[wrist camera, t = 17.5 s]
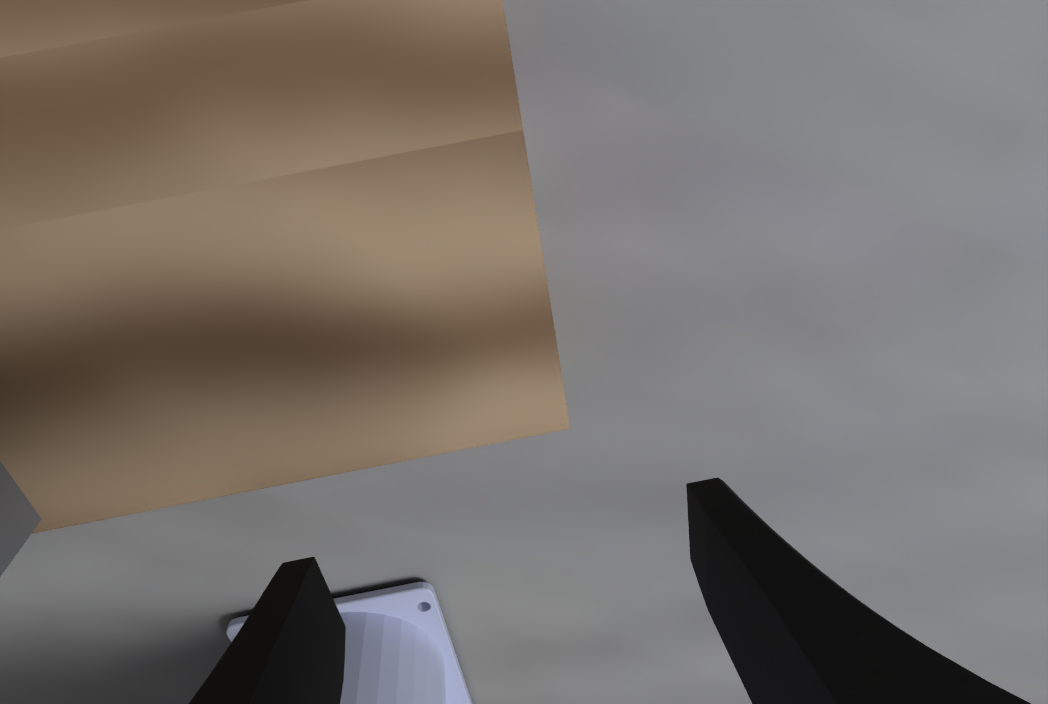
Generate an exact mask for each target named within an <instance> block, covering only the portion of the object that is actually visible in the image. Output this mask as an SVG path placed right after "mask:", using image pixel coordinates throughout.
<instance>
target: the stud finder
mask: <svg viewBox="0 0 1048 704" xmlns="http://www.w3.org/2000/svg"><path fill="white" fill-rule="evenodd" d="M40 521H41V517H40V516H39V515H38V513H37V512H36V510H35V509H34V508H33V506H32V505H31V503H30V502H29V501H28V499H27V498H26V496H25V495H24V494H23V492H22V491H21V489H20V488H19V487H18V485H17V484H16V482H15V481H14V479H13V478H12V477H11V475H10V474H9V472H8V471H7V470H6V468H5V467H4V465H3V464H2V463H1V461H0V576H1V575H2V573H3V572H4V571H5V569H6V568H7V567H8V565H9V564H10V562H11V561H12V560H13V558H14V557H15V555H16V554H17V553H18V551H19V550H20V549H21V547H22V546H23V544H24V543H25V542H26V540H27V539H28V537H29V536H30V535H31V533H32V532H33V530H34V529H35V528H36V526H37V525H38V524H39V522H40Z"/></svg>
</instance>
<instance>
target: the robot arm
mask: <svg viewBox="0 0 1048 704" xmlns="http://www.w3.org/2000/svg"><path fill="white" fill-rule="evenodd" d="M687 502H688V521H689V541H690V559H691V562H692V565H693V568H694V571H695V574H696V577H697V580H698V583H699V586H700V589H701V592H702V594H703V597H704V600H705V603H706V606H707V608H708V611H709V613H710V615H711V617H712V619H713V622H714V624H715V626H716V628H717V630H718V632H719V634H720V636H721V639H722V641H723V643H724V645H725V647H726V649H727V651H728V653H729V655H730V657H731V660H732V662H733V664H734V666H735V668H736V670H737V672H738V674H739V676H740V678H741V681H742V683H743V685H744V687H745V689H746V691H747V693H748V695H749V697H750V699H751V702H752V704H1031V703H1029V702H1027V701H1025V700H1023V699H1021V698H1019V697H1017V696H1015V695H1013V694H1011V693H1009V692H1007V691H1005V690H1003V689H1001V688H999V687H998V686H996V685H994V684H992V683H990V682H988V681H986V680H984V679H983V678H981V677H979V676H978V675H976V674H974V673H972V672H971V671H969V670H967V669H965V668H964V667H962V666H960V665H958V664H957V663H955V662H953V661H951V660H950V659H948V658H946V657H945V656H943V655H941V654H939V653H938V652H936V651H934V650H932V649H931V648H929V647H927V646H926V645H924V644H923V643H921V642H920V641H918V640H916V639H915V638H913V637H912V636H910V635H909V634H907V633H906V632H904V631H902V630H901V629H899V628H898V627H896V626H895V625H893V624H892V623H890V622H889V621H887V620H886V619H885V618H883V617H882V616H880V615H879V614H877V613H876V612H874V611H873V610H871V609H870V608H869V607H867V606H866V605H865V604H863V603H862V602H860V601H859V600H858V599H856V598H855V597H854V596H852V595H851V594H850V593H848V592H847V591H846V590H844V589H843V588H842V587H840V586H839V585H838V584H837V583H835V582H834V581H833V580H832V579H830V578H829V577H828V576H826V575H825V574H824V573H823V572H821V571H820V570H819V569H818V568H817V567H815V566H814V565H813V564H812V563H810V562H809V561H808V560H807V559H806V558H805V557H803V556H802V555H801V554H800V553H799V552H798V551H796V550H795V549H794V548H793V547H792V546H791V545H790V544H788V543H787V542H786V541H785V540H784V539H783V538H782V537H780V536H779V535H778V534H777V533H776V532H775V531H774V530H773V529H772V528H770V527H769V526H768V525H767V524H766V523H765V522H764V521H763V520H762V519H761V518H760V517H759V516H758V515H757V514H756V513H755V512H754V511H753V510H752V509H750V508H749V507H748V506H747V505H746V504H745V503H744V502H743V501H742V500H741V499H740V498H739V497H738V496H737V495H736V494H735V493H734V492H733V491H732V490H731V489H730V487H729V486H728V485H727V484H726V483H725V482H724V481H722V480H721V479H719V478H713V479H708V480H703V481H698V482H693V483H688V484H687ZM422 602H427V603H422ZM226 634H227V636H228V638H229V640H230V641H231V644H230V645H229V647H228V648H227V650H226V651H225V653H224V654H223V656H222V657H221V659H220V660H219V662H218V663H217V665H216V666H215V668H214V669H213V671H212V672H211V674H210V675H209V677H208V678H207V679H206V681H205V682H204V683H203V685H202V686H201V688H200V689H199V690H198V692H197V693H196V694H195V696H194V697H193V699H192V700H191V701H190V703H189V704H472V701H471V698H470V695H469V692H468V689H467V686H466V683H465V680H464V677H463V674H462V671H461V668H460V665H459V662H458V659H457V656H456V653H455V650H454V647H453V644H452V641H451V638H450V635H449V632H448V629H447V626H446V623H445V620H444V617H443V614H442V611H441V608H440V605H439V602H438V599H437V596H436V594H435V591H434V588H433V586H432V585H430V584H429V583H426V582H416V583H411V584H406V585H401V586H396V587H391V588H386V589H380V590H375V591H370V592H365V593H360V594H355V595H350V596H345V597H340V598H335V599H333V597H332V595H331V593H330V591H329V588H328V586H327V584H326V582H325V579H324V577H323V575H322V573H321V571H320V568H319V566H318V564H317V562H316V559H315V557H310V558H305V559H300V560H295V561H290V562H285V563H282V565H281V566H280V567H279V569H278V570H277V572H276V574H275V575H274V577H273V578H272V580H271V581H270V583H269V584H268V586H267V588H266V589H265V591H264V592H263V594H262V596H261V597H260V599H259V600H258V602H257V604H256V605H255V607H254V608H253V610H252V611H251V613H250V615H248V616H243V617H238V618H235V619H232V620H231V621H230V622H229V625H228V628H227V631H226Z"/></svg>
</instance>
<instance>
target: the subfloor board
mask: <svg viewBox="0 0 1048 704" xmlns="http://www.w3.org/2000/svg"><path fill="white" fill-rule="evenodd" d="M566 429H570V425H569V419H568V412H567V406H566V400H565V393H564V387H563V380H562V374H561V368H560V361H559V355H558V349H557V342H556V336H555V330H554V323H553V317H552V311H551V304H550V298H549V292H548V285H547V279H546V273H545V266H544V260H543V254H542V247H541V241H540V235H539V228H538V222H537V216H536V209H535V203H534V197H533V190H532V184H531V178H530V171H529V165H528V159H527V152H526V146H525V140H524V133H523V127H522V121H521V114H520V108H519V102H518V95H517V89H516V83H515V76H514V70H513V64H512V57H511V51H510V44H509V38H508V32H507V25H506V19H505V13H504V6H503V0H0V461H1V463H2V464H3V465H4V467H5V468H6V470H7V471H8V472H9V474H10V475H11V477H12V478H13V479H14V481H15V482H16V484H17V485H18V487H19V488H20V489H21V491H22V492H23V494H24V495H25V496H26V498H27V499H28V501H29V502H30V503H31V505H32V506H33V508H34V509H35V510H36V512H37V513H38V515H39V516H40V517H41V521H40V522H39V524H38V525H37V526H36V528H35V529H34V530H33V532H32V533H37V532H42V531H47V530H52V529H58V528H63V527H68V526H73V525H78V524H83V523H88V522H94V521H99V520H104V519H109V518H114V517H119V516H124V515H129V514H135V513H140V512H145V511H150V510H155V509H160V508H165V507H171V506H176V505H181V504H186V503H191V502H196V501H201V500H206V499H212V498H217V497H222V496H227V495H232V494H237V493H242V492H248V491H253V490H258V489H263V488H268V487H273V486H278V485H283V484H289V483H294V482H299V481H304V480H309V479H314V478H319V477H325V476H330V475H335V474H340V473H345V472H350V471H355V470H360V469H366V468H371V467H376V466H381V465H386V464H391V463H396V462H402V461H407V460H412V459H417V458H422V457H427V456H432V455H437V454H443V453H448V452H453V451H458V450H463V449H468V448H473V447H479V446H484V445H489V444H494V443H499V442H504V441H509V440H514V439H520V438H525V437H530V436H535V435H540V434H545V433H550V432H556V431H561V430H566ZM32 533H31V534H32Z"/></svg>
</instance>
